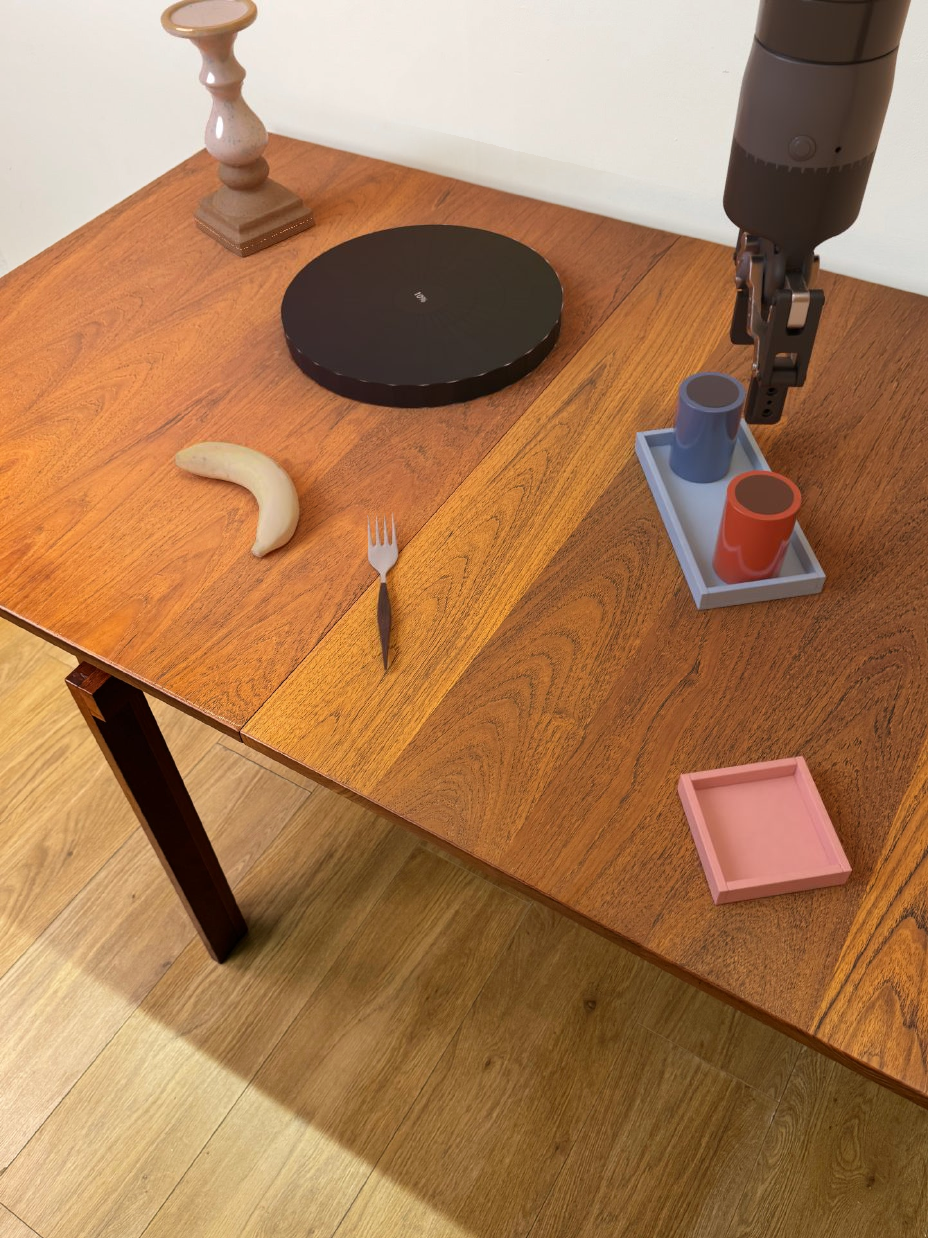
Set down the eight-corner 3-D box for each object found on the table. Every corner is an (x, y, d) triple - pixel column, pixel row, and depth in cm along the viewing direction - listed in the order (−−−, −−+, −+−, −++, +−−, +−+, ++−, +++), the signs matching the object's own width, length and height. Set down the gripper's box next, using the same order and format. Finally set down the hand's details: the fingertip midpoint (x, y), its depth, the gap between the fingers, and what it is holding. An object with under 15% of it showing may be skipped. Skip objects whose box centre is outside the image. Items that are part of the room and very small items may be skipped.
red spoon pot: (767, 537, 84) (786, 465, 78) (791, 585, 81) (813, 514, 75) (703, 546, 84) (717, 474, 78) (723, 595, 80) (740, 524, 74)
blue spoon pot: (720, 439, 93) (734, 367, 87) (739, 479, 89) (755, 406, 83) (661, 447, 92) (671, 375, 86) (678, 487, 89) (689, 415, 83)
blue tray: (740, 434, 94) (744, 417, 92) (820, 593, 81) (826, 576, 79) (634, 448, 93) (636, 432, 92) (698, 610, 80) (701, 594, 79)
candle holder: (242, 258, 118) (190, 39, 100) (194, 225, 124) (136, 12, 105) (317, 224, 122) (280, 8, 104) (267, 194, 128) (224, -17, 110)
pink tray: (797, 770, 70) (803, 755, 69) (844, 884, 65) (852, 870, 63) (677, 789, 70) (680, 774, 68) (714, 905, 64) (719, 892, 63)
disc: (621, 323, 106) (623, 298, 104) (397, 449, 95) (394, 424, 92) (444, 220, 122) (443, 196, 119) (233, 318, 110) (227, 294, 108)
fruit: (242, 441, 96) (235, 414, 94) (327, 524, 89) (321, 496, 86) (176, 474, 94) (167, 447, 91) (258, 563, 86) (250, 536, 83)
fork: (369, 675, 78) (366, 660, 76) (367, 530, 88) (365, 514, 86) (402, 672, 78) (400, 657, 76) (397, 528, 88) (395, 512, 86)
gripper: (908, 194, 48) (829, 451, 61) (854, 71, 57) (795, 317, 70) (750, 195, 49) (704, 450, 61) (721, 74, 58) (686, 317, 70)
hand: (752, 379), depth 65 cm, fingers open, 8 cm apart
